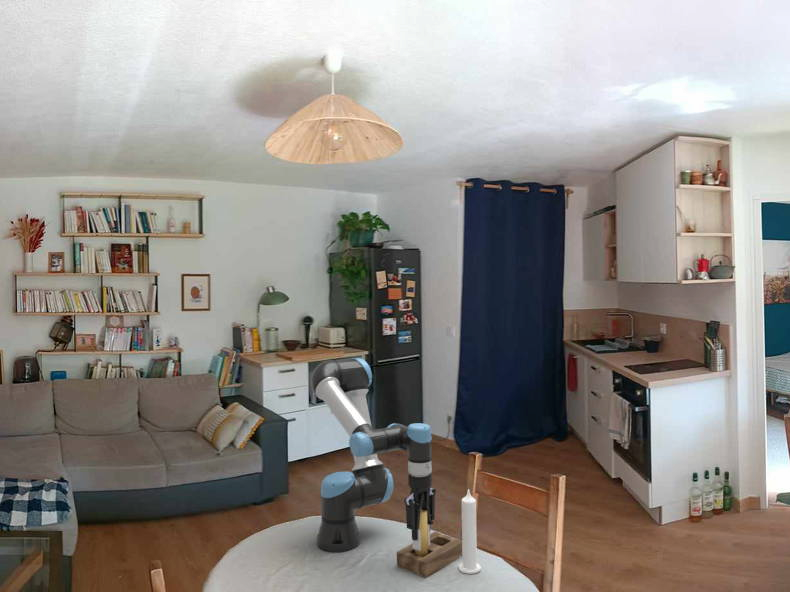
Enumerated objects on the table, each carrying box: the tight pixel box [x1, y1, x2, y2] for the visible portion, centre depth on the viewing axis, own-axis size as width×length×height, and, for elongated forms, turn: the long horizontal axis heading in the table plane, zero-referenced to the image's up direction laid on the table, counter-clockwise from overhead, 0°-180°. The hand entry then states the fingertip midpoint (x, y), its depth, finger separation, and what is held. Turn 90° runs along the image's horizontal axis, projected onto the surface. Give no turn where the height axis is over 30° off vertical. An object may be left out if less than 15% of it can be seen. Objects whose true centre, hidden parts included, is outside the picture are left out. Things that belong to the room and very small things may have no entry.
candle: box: [457, 489, 482, 575], centre depth 180 cm, size 7×7×25 cm
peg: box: [415, 509, 428, 557], centre depth 182 cm, size 4×4×15 cm
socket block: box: [396, 531, 462, 579], centre depth 186 cm, size 12×20×4 cm, turn 139°
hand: (421, 546), depth 182 cm, fingers closed on peg, 4 cm apart
